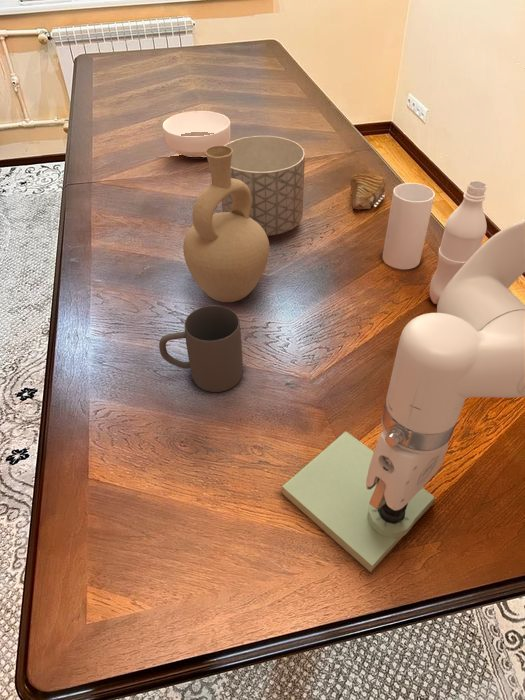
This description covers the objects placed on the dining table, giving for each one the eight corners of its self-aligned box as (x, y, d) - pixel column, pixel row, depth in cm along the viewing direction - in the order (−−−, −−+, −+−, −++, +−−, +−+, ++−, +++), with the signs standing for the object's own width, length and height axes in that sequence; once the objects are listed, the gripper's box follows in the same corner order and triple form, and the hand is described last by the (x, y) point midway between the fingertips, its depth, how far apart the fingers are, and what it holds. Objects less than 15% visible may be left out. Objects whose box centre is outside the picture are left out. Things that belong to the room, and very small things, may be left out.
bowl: (192, 172, 152) (189, 142, 146) (153, 151, 163) (149, 123, 157) (245, 151, 161) (244, 123, 155) (204, 133, 172) (202, 105, 166)
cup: (388, 245, 123) (399, 179, 112) (424, 253, 121) (439, 187, 110) (377, 263, 118) (388, 197, 107) (414, 273, 115) (429, 205, 104)
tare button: (407, 512, 71) (409, 506, 70) (393, 527, 70) (395, 521, 69) (388, 498, 73) (390, 492, 72) (375, 512, 71) (376, 506, 70)
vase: (235, 328, 103) (225, 182, 83) (172, 297, 111) (149, 155, 90) (285, 286, 113) (288, 145, 92) (224, 259, 120) (214, 124, 99)
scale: (435, 506, 75) (440, 492, 73) (373, 575, 69) (377, 562, 66) (344, 438, 84) (346, 424, 82) (281, 493, 77) (282, 480, 75)
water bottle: (429, 286, 112) (457, 172, 95) (464, 293, 110) (500, 178, 93) (424, 307, 107) (453, 191, 90) (461, 314, 105) (499, 197, 88)
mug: (240, 353, 98) (237, 302, 90) (246, 390, 92) (243, 338, 83) (165, 361, 97) (155, 310, 89) (166, 399, 91) (154, 347, 82)
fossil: (381, 190, 142) (347, 186, 142) (387, 171, 138) (353, 167, 137) (386, 219, 135) (351, 215, 134) (393, 200, 130) (356, 196, 130)
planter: (272, 199, 140) (272, 129, 127) (317, 230, 128) (322, 156, 116) (209, 221, 132) (202, 149, 120) (251, 256, 121) (249, 180, 108)
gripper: (406, 481, 52) (379, 565, 65) (486, 399, 59) (448, 489, 72) (346, 436, 56) (332, 524, 68) (428, 364, 63) (401, 456, 76)
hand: (391, 506), depth 70 cm, fingers closed
